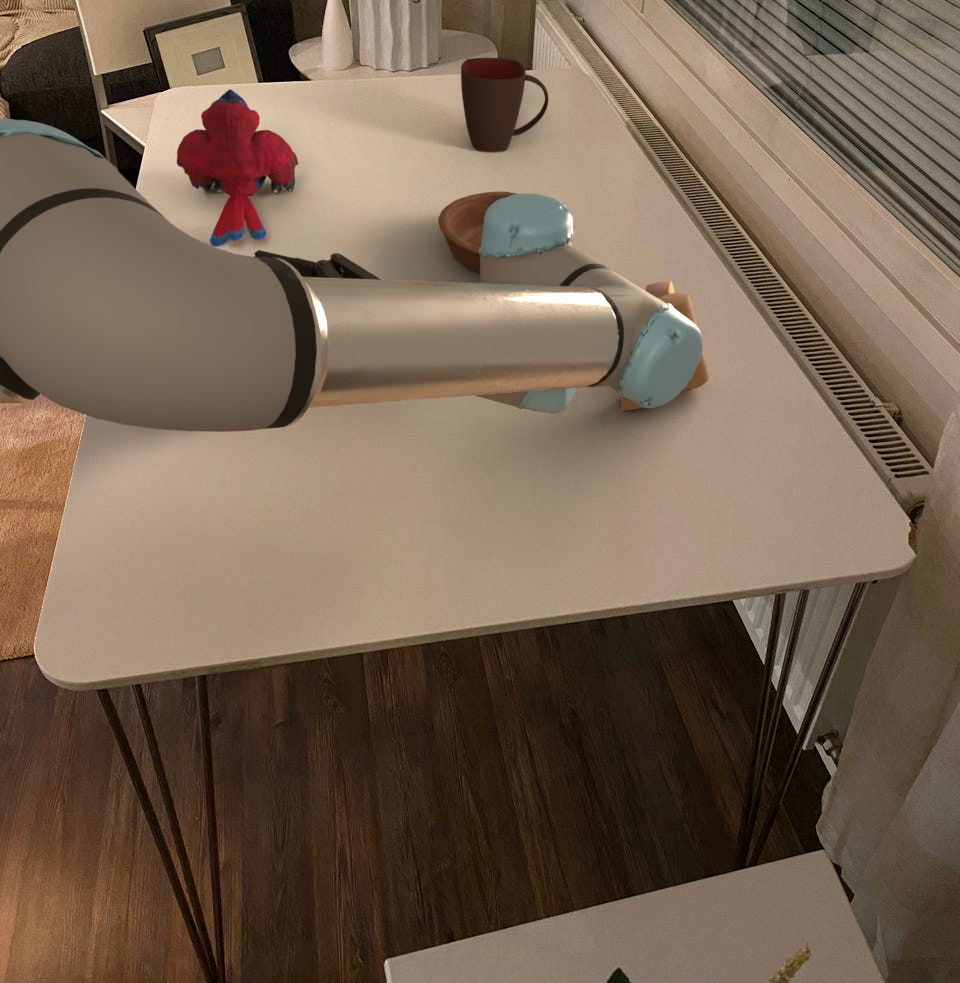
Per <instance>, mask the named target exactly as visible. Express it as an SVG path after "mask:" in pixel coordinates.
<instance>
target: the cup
mask: <svg viewBox="0 0 960 983" xmlns="http://www.w3.org/2000/svg"><path fill="white" fill-rule="evenodd" d="M526 73H527V72H526V68H525V67H524V65H523V64H522V63H521V62H520V61H518V60H516V59H509V58H501V57H475V58H474V57H473V58H468V59H466V60H464V62H462V64H461V66H460V83H461V84H460V86H461V87H460V88H461V97H462V98H461V99H462V104H463V113H464V118H465V125H466V129H467V133H468V138H469V142H470V145H471V146H472V148H473V149H474V150H475V152H476V151H477V152H481V153H482V152H483V153H503V152H506V151H507V150H508V148H509V146H510V143H511V140H512V138H513V137H517V136H520V135H522V134H524V133H526V132H528V131H529V130H531V129H532V128H533V127H535V125H537V124H538V123H539V122H540V120H542V118H543V116H544V115H545V113H546V111H547V109H548V106H549V93H548V89H547V88H546V86H545V84H544V83H543V82H542V81H541V80H540V79H538V78H537V77H535V76H533V75H530V74H526ZM526 82H530V83H533V84H535V85H537V86H538V87H539V88H540V89H541V90H542V92H543V95H544V102H543V105H542V107H541V109H540V111H539V112H538V113H537V114H536V115H535V116H534V117H533V118H532V119H530V121H528V122H527V123H525V124H524V125H522V126H521V127H518V128H516V126H517V122H518V118H519V114H520V110H521V106H522V102H523V97H524V91H525V83H526Z"/></svg>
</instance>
